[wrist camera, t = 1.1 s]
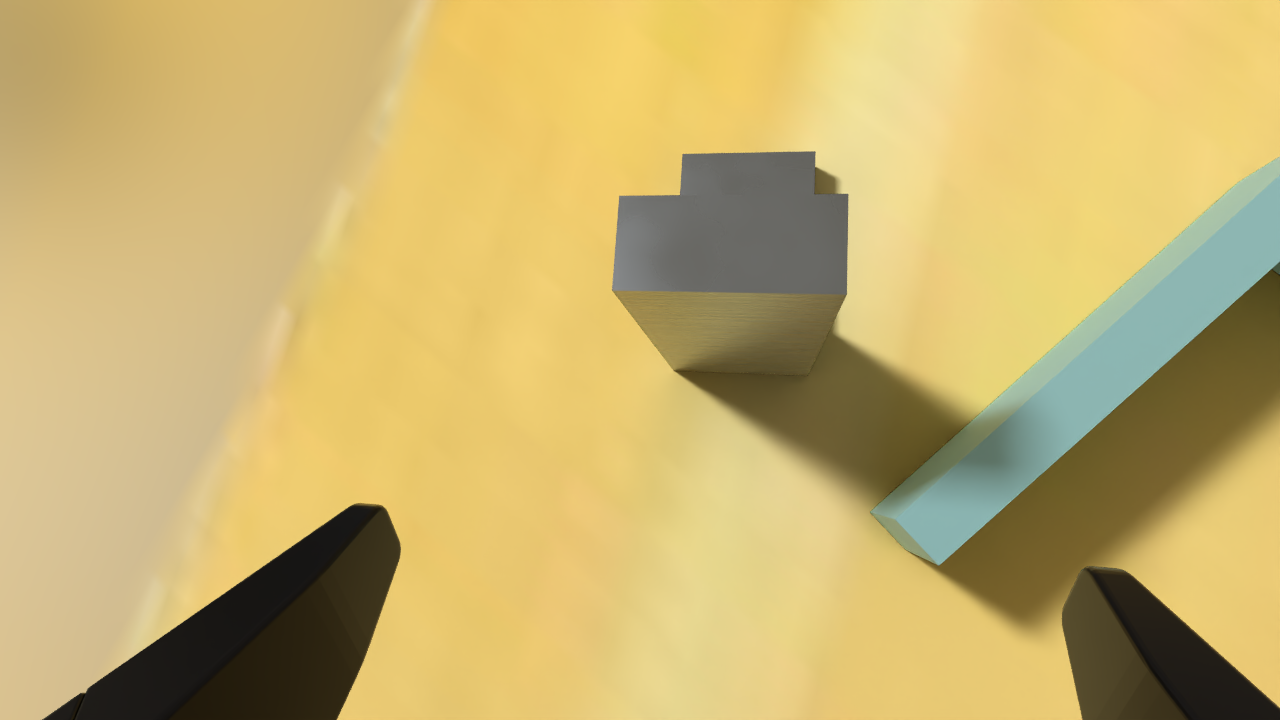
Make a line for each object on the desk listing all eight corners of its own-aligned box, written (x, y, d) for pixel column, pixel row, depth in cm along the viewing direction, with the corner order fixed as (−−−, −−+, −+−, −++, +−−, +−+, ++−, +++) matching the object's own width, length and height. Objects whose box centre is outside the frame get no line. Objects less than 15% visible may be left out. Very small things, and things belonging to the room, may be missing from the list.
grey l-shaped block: (807, 375, 22) (846, 294, 12) (673, 370, 23) (612, 290, 13) (812, 165, 23) (852, -58, 14) (685, 167, 24) (637, -42, 14)
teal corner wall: (1154, 813, 18) (1260, 902, 15) (869, 512, 21) (895, 519, 17) (1578, 439, 18) (1799, 428, 14) (1238, 182, 21) (1347, 114, 17)
